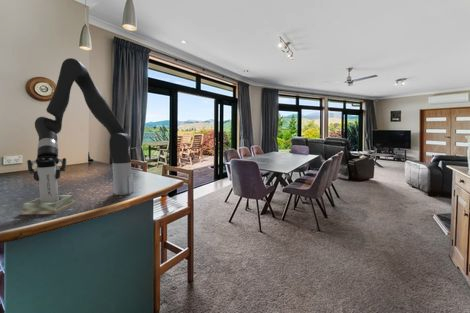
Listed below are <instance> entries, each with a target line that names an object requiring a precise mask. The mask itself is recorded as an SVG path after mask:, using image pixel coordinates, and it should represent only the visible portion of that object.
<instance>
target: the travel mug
mask: <svg viewBox="0 0 470 313" xmlns="http://www.w3.org/2000/svg"><path fill="white" fill-rule="evenodd" d="M35 160H36V161H37V164H36V167H37V168H38V169H37V171H38V181H37V182H38V189H39V198H40V200H41V203H54V202H57V201H59V199H58V198H59V197H58V195H59V188H58V179H56V166H55V160H51V159H37V158H35Z"/></svg>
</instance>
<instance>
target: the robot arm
mask: <svg viewBox="0 0 470 313" xmlns="http://www.w3.org/2000/svg"><path fill="white" fill-rule="evenodd" d="M74 83H76V85H77V86H78V87H79V89H80V91H81V92H82V94H83V98H84V101H85V104H86V105H87V108H88V109H89V111H90V112H91V113H92V115H93V117H95V119H96V120H97V121H98V123H100V124H101V125H102V126H103V127H104V128H105V129H106V130H107V131H108V133H109V135H110V138H109V141H108V142H109V153H110V154H109V156H110V158H111V161H112V162H111V163H112V181H113V195H116V196H124V195H125V196H126V195H130V194H132V193H133V192H135V191H134V188H135V186H134V175H133V174H132V159H131V158H132V157H131V156H130V150H129V148H130V147H131V145H132V138H131V137H130V135H129V134H128V133H127V131H126V130H125V129H124V128H123V126H122V125H121V123H120V122H119V119H117V117H116V115H115V114H114V110H112V108H111V107H110V105H109V103H108V102H107V100H106V99H105V97H104V96H103V94H102V93H101V92H100V90H99V88H98V87H97V86H96V84H95V83H94V80H93V79H92V76H91V74H90V73H89V71H88V69H87V67H86V66H85V65H84V64H83V63H82V62H80V61H79V60H78V59H76V58H72V57H69V58H66V59H65V60H63V61H62V63H61V67H60V72H59V75H58V79H57V82H56V86H55V88H54V92H53V94H52V95H51V96H52V97H51V99H50V100H49V102H48V104H47V107H46V109H45V110H46V112H47V113H48V114H50V115H52V116H53V117H54V119H52V118H49V117H46V116H38V117H37V118H36V119H35V122H34V129H35V131H36V134H37V136H38V144H37V150H36V152H37V153H36V159H51V160H55V166H56V179H57V180H59V179H60V178H61V172H65V171H66V169H67V158H65V157H63V158H59V145H58V134H59V133H61V131H62V127H63V118H64V114H65V112H66V111H67V107H68V105H69V102H70V98H71V97H70V95H71V90H72V87H73V84H74ZM36 159H35V160H31V159H27V161H26V163H27V170H28V173H29V174H30V175H31V174H32V175H33V180H34V181H36V182H39V181H38V171H37V169H38V168H37V166H36V167H35V168H34V169H33V167H34V166H35V164H36V165H37V161H36ZM59 163H60V164H61V167H59V165H58V164H59Z"/></svg>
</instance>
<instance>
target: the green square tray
mask: <svg viewBox="0 0 470 313" xmlns="http://www.w3.org/2000/svg"><path fill="white" fill-rule="evenodd" d="M58 197H59V198H58V199H59V201H57V202H54V203H41V200H40V197H39V198H35V199H33V200H30V201H27V202H24V203H22V208H23V210H20V212H19V213H20V215H23V216H24V215H53V214H54V215H56V214H58V213H60V212H62V211H64V210H66V209H68V208H70V207H72V206H75V205H76V204H77V200H74V199H75V198H74V195H73V194H67V195H66V194H61V195H60V194H58Z"/></svg>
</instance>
